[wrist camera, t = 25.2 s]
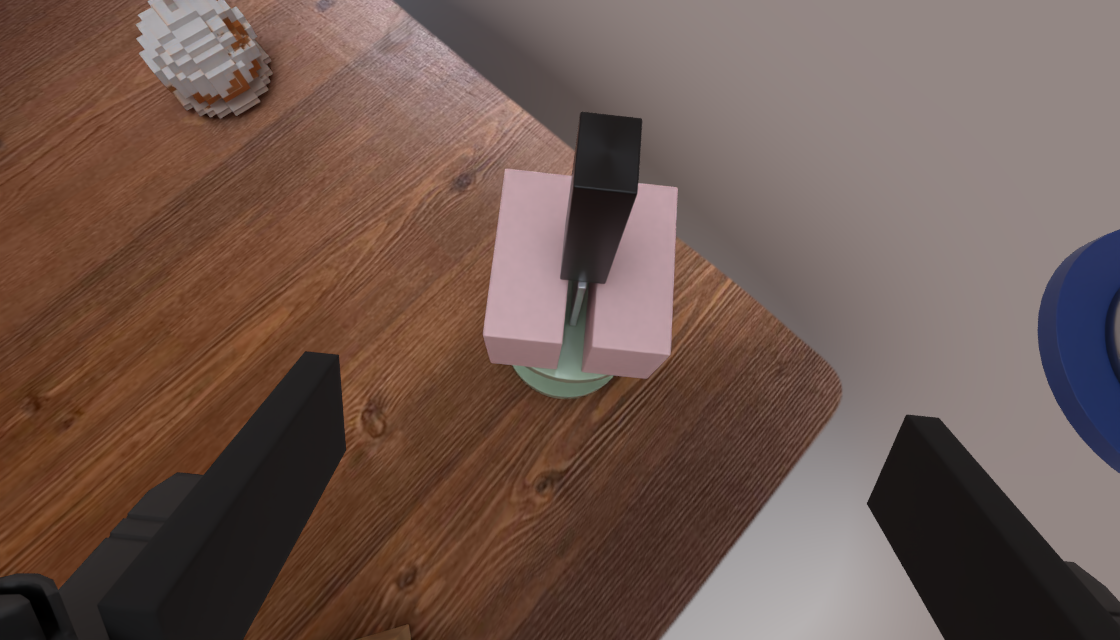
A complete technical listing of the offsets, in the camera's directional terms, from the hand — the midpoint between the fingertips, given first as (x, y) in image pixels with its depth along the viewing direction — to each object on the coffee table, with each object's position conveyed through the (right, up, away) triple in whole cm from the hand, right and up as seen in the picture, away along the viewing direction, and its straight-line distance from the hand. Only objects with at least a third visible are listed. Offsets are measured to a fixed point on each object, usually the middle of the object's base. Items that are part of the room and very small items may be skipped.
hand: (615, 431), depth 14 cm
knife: (0, +4, +21) cm, 22 cm away
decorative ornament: (-29, +22, +36) cm, 51 cm away
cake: (0, +4, +21) cm, 22 cm away
